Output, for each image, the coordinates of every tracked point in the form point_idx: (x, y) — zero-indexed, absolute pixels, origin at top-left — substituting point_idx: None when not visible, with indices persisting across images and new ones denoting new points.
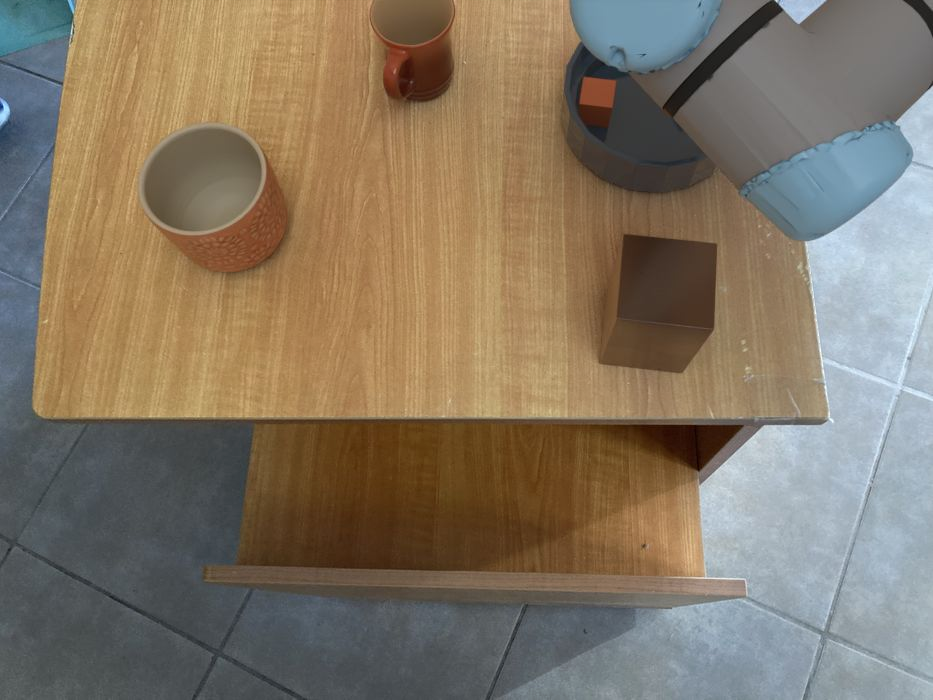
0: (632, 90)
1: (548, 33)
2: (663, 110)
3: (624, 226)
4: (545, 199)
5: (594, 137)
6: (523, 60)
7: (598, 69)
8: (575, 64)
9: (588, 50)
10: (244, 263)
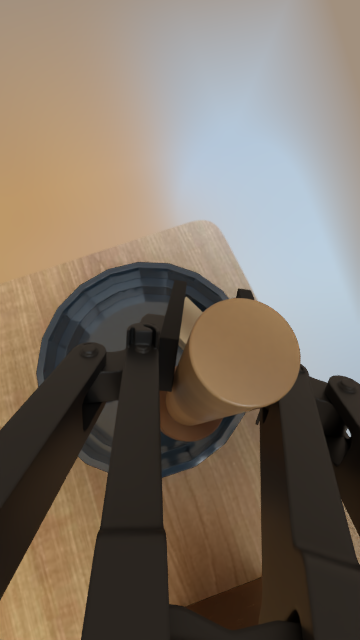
0: (124, 345)
1: (22, 307)
2: (166, 435)
3: (170, 510)
4: (76, 514)
5: (97, 462)
6: (4, 348)
7: (83, 333)
8: (48, 361)
9: (60, 332)
10: None
